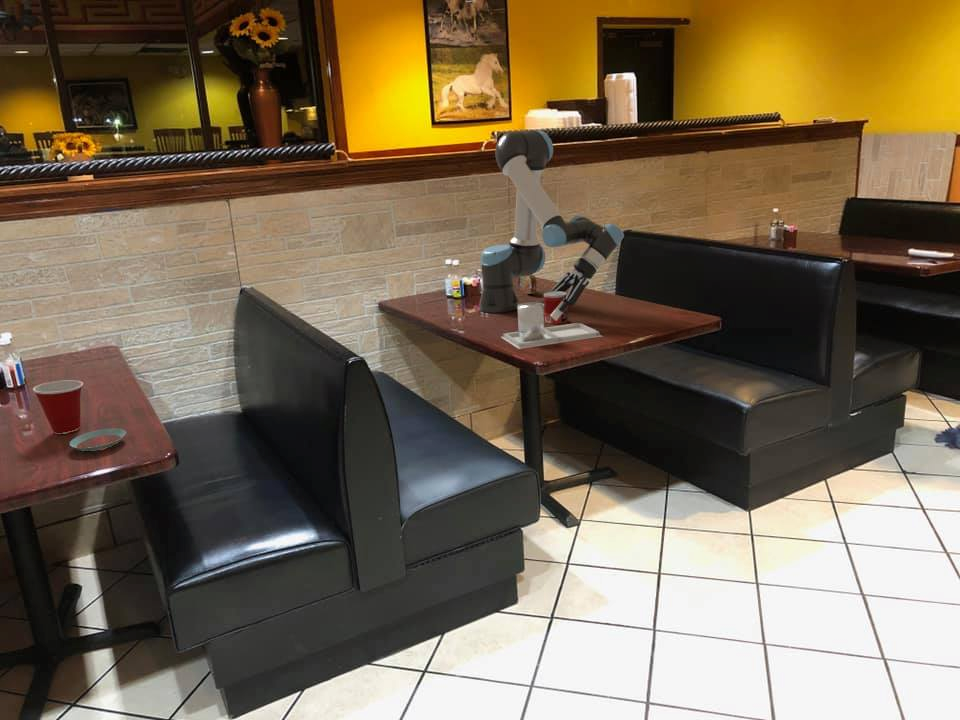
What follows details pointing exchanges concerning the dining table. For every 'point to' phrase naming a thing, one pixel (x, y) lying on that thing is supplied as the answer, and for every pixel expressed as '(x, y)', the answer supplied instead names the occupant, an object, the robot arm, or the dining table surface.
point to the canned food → (554, 306)
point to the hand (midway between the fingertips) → (547, 315)
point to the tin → (527, 284)
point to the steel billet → (531, 321)
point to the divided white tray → (555, 335)
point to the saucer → (93, 434)
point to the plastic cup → (61, 403)
